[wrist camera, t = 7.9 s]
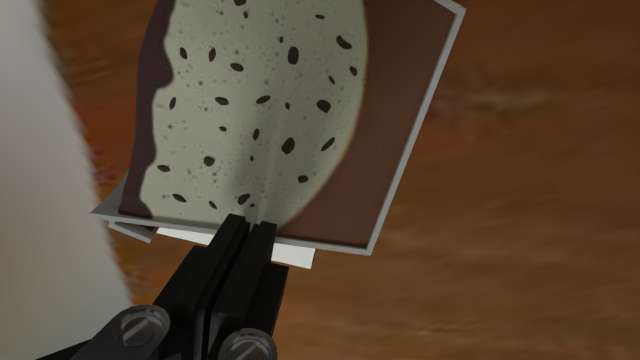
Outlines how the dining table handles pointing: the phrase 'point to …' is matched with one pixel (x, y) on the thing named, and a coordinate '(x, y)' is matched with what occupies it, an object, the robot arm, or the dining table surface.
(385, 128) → the food container
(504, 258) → the dining table surface
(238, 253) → the robot arm
